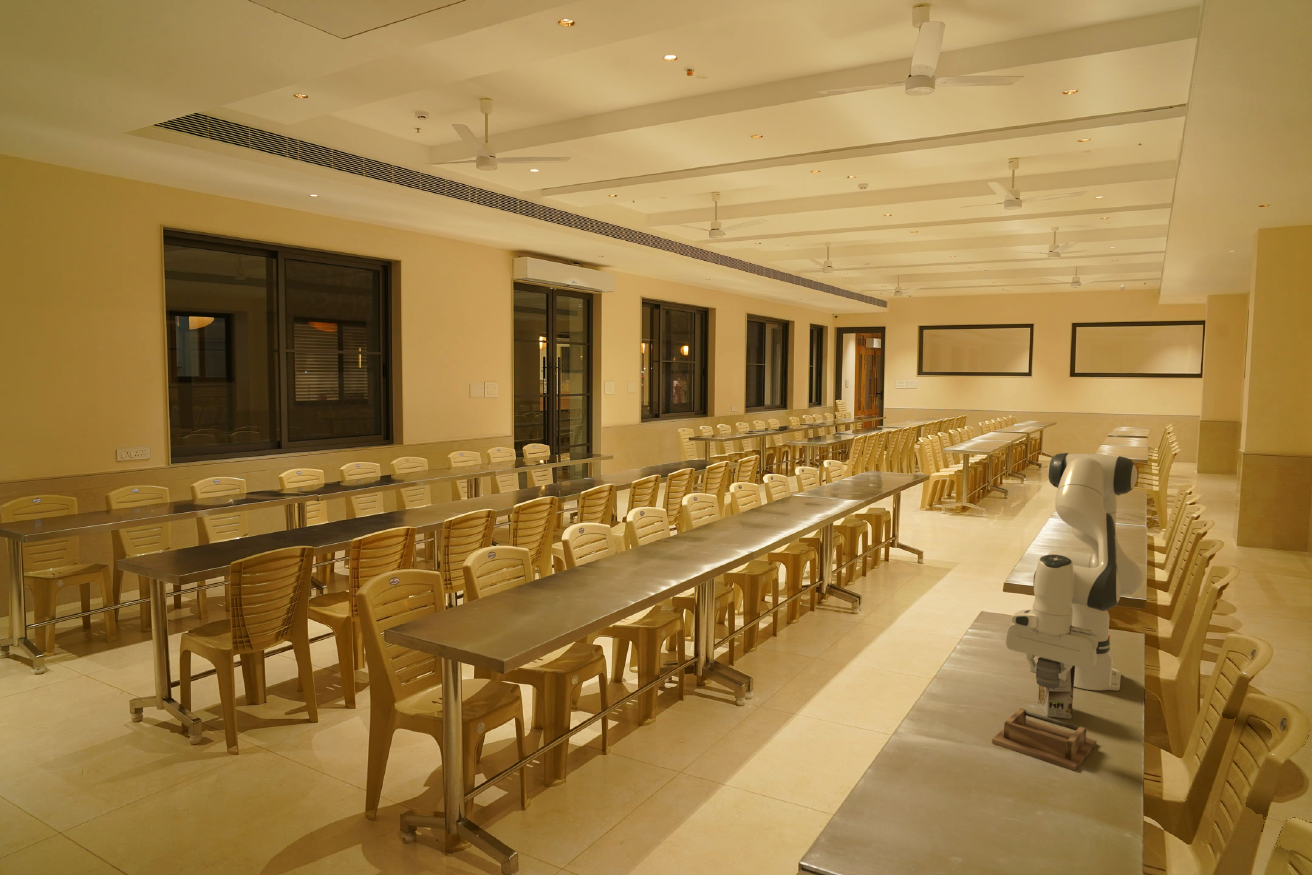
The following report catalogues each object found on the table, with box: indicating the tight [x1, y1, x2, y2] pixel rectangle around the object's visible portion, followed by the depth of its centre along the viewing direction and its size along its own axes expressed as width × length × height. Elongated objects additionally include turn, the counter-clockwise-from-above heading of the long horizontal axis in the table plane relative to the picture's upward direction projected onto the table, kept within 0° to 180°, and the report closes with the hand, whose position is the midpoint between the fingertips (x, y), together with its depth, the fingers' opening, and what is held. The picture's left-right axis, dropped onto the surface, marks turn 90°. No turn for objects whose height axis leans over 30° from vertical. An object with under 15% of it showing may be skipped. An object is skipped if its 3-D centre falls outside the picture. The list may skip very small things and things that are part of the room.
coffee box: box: [1037, 663, 1075, 720], centre depth 210 cm, size 9×6×16 cm
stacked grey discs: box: [1035, 657, 1061, 688], centre depth 191 cm, size 5×5×6 cm
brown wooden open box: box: [991, 708, 1097, 772], centre depth 192 cm, size 18×19×5 cm
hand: (1048, 675), depth 191 cm, fingers closed on stacked grey discs, 5 cm apart
